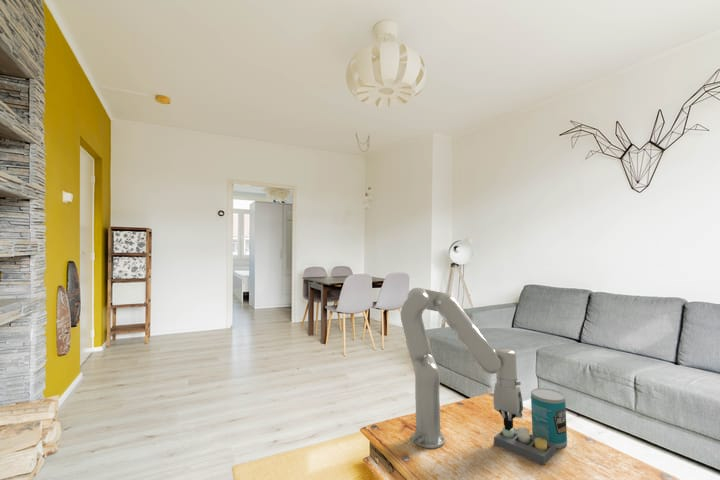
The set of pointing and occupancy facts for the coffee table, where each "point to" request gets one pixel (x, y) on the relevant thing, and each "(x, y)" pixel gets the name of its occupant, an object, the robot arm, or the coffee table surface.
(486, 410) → the coffee table surface
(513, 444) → the gray compartment tray
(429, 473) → the coffee table surface
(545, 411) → the food can
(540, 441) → the key mustard
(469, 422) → the coffee table surface
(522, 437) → the key ivory
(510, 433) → the pale green egg
